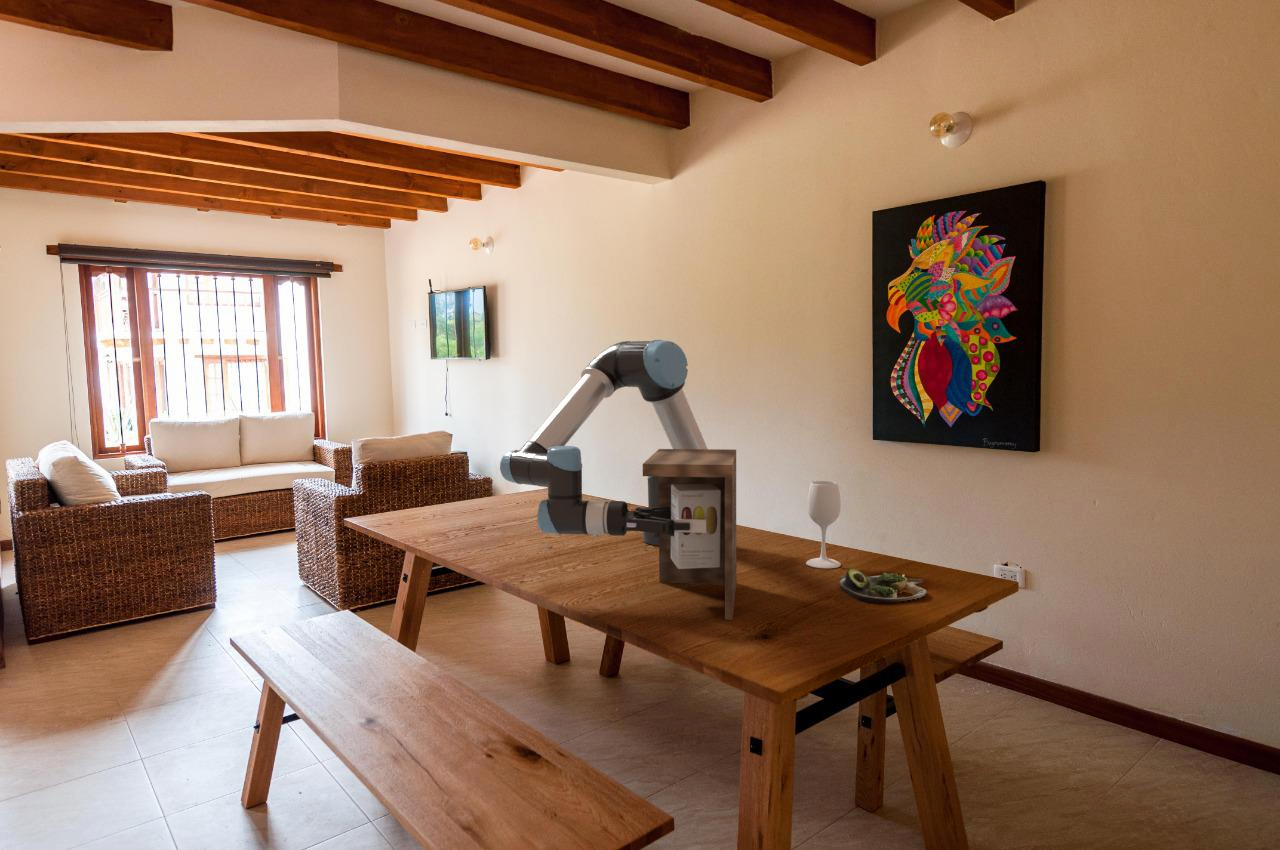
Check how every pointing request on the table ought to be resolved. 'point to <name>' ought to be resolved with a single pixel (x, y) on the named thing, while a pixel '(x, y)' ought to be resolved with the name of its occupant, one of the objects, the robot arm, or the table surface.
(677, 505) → the supplement box
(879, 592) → the salad plate
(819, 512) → the wineglass
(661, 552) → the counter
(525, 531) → the table surface
